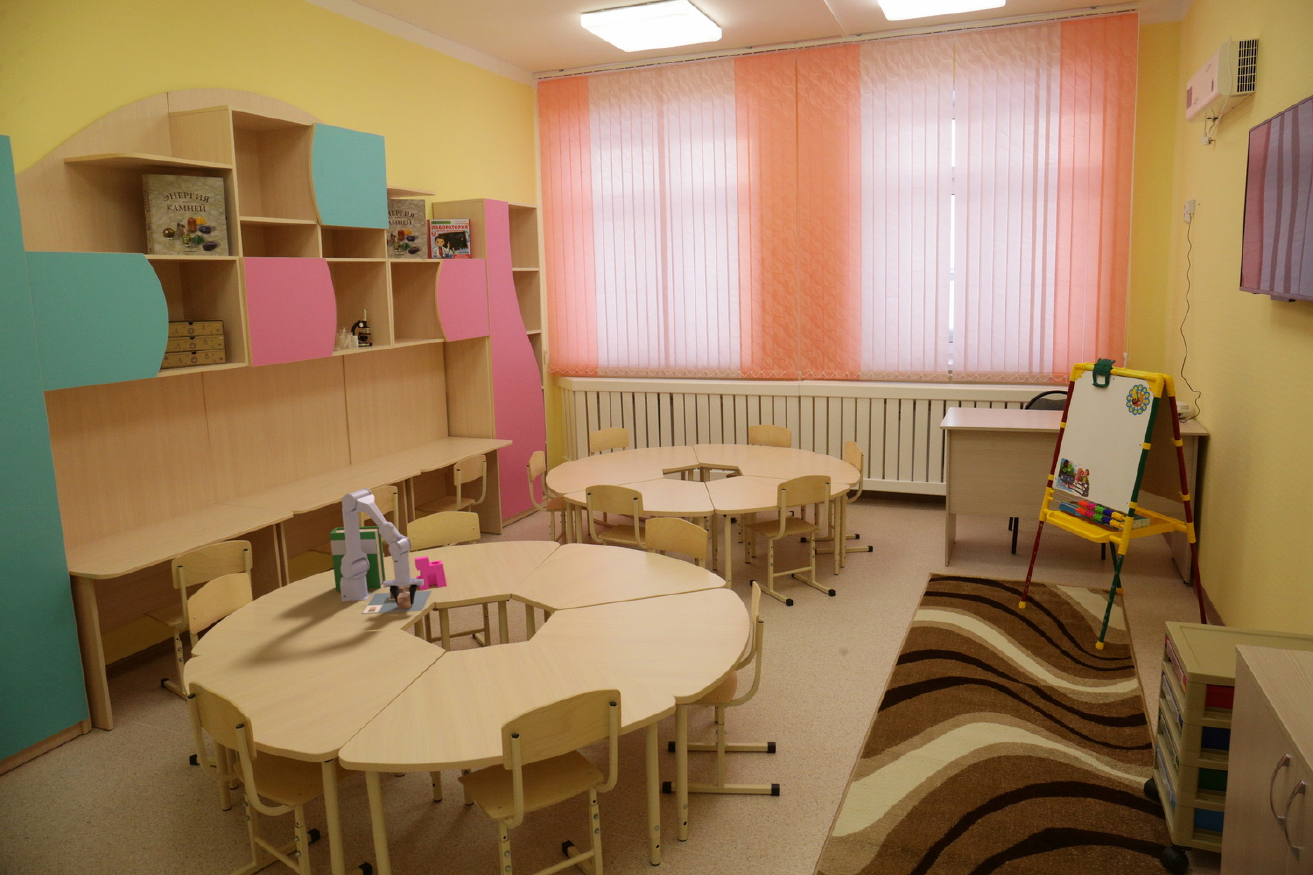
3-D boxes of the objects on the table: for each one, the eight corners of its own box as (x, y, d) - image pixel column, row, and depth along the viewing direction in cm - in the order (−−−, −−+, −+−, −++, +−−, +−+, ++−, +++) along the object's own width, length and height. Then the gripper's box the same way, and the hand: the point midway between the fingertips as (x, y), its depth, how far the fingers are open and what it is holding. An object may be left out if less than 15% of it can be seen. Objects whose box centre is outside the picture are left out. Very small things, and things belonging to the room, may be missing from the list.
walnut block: (390, 598, 343) (389, 589, 342) (393, 593, 348) (392, 584, 347) (403, 598, 343) (402, 588, 342) (406, 593, 348) (405, 583, 347)
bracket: (416, 582, 362) (414, 557, 359) (442, 577, 365) (440, 554, 363) (420, 591, 351) (418, 567, 349) (446, 587, 354) (444, 563, 352)
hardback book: (385, 582, 362) (380, 526, 357) (380, 589, 354) (374, 531, 350) (342, 584, 362) (336, 527, 357) (336, 590, 354) (329, 533, 350)
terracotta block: (398, 608, 332) (397, 597, 332) (400, 604, 337) (399, 593, 336) (410, 608, 333) (409, 596, 332) (413, 603, 337) (411, 592, 336)
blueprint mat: (361, 615, 329) (361, 613, 329) (375, 594, 349) (375, 593, 349) (422, 611, 330) (421, 610, 330) (431, 591, 350) (431, 590, 350)
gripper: (379, 574, 327) (383, 609, 330) (419, 572, 328) (422, 607, 331) (384, 567, 334) (387, 601, 337) (423, 565, 335) (426, 599, 338)
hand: (405, 604), depth 335 cm, fingers closed on terracotta block, 4 cm apart
